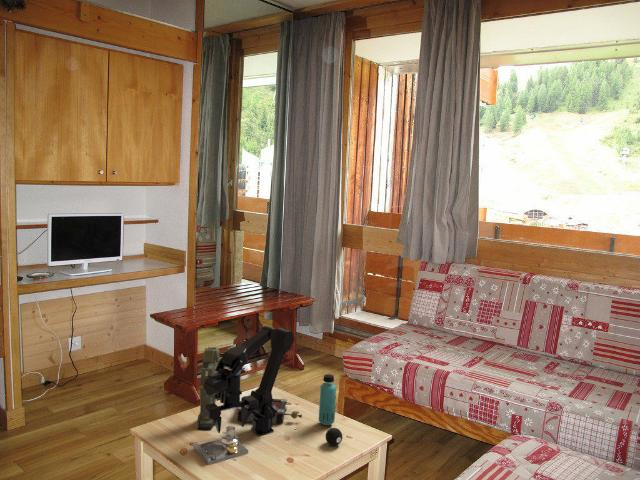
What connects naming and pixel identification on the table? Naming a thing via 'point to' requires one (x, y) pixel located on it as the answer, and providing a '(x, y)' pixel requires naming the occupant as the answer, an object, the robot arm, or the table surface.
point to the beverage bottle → (327, 400)
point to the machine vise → (280, 408)
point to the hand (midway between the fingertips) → (230, 429)
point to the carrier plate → (218, 451)
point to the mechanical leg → (208, 368)
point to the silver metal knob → (230, 436)
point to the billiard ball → (333, 436)
